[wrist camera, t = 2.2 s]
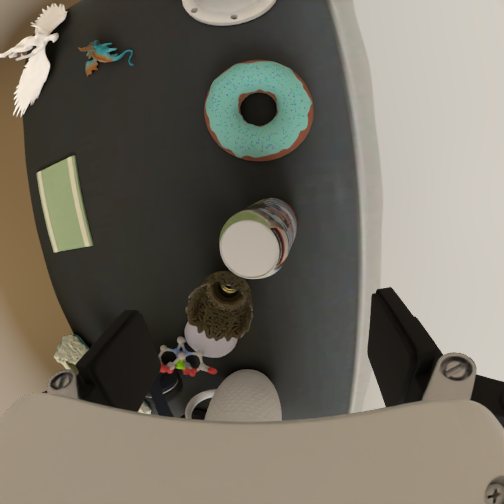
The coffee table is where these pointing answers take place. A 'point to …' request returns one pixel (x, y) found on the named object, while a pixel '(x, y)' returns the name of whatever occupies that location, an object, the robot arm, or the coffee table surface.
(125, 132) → the coffee table surface
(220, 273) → the cup
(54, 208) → the towel mat
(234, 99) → the donut
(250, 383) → the mug
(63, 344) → the ballet flat
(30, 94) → the figurine
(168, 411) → the earphone
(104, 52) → the dragon figurine
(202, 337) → the white pebble
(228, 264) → the beverage can
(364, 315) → the coffee table surface
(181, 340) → the molecular model
